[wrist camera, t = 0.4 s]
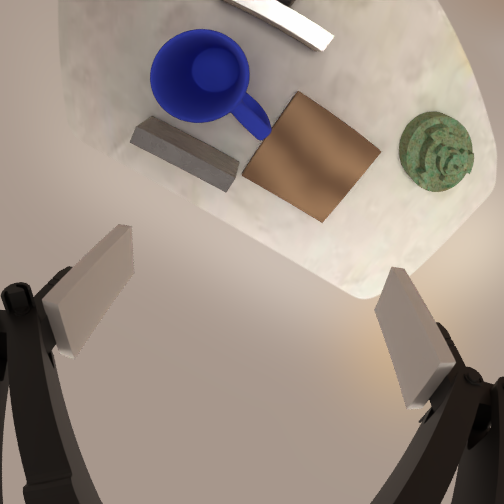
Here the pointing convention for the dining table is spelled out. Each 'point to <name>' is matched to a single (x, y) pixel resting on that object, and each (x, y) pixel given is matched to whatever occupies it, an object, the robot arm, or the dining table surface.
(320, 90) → the dining table surface
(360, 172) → the walnut board
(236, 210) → the dining table surface
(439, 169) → the decorative artifact
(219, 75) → the mug
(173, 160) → the vise jaws
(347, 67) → the dining table surface
